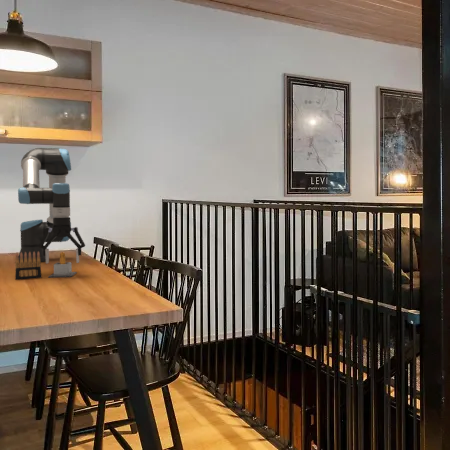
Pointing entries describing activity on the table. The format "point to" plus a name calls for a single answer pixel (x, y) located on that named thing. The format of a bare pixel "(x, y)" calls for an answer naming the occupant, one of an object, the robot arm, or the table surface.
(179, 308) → the table surface
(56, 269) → the grey square block
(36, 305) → the table surface
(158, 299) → the table surface
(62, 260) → the keeper
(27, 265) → the ammunition clip
